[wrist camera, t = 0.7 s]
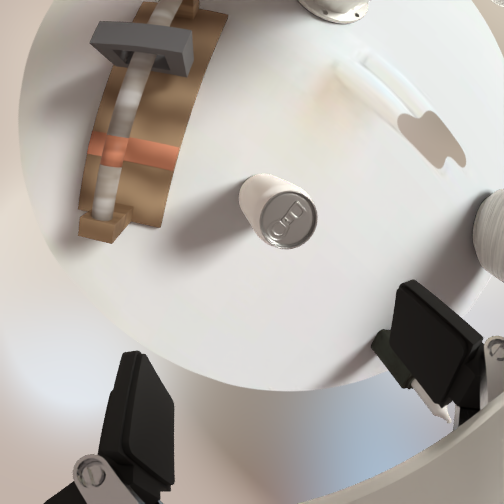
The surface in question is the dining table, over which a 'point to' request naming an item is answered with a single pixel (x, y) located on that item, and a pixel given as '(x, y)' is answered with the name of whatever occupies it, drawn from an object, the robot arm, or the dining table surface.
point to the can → (278, 211)
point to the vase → (490, 234)
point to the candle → (403, 372)
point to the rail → (143, 127)
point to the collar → (146, 45)
